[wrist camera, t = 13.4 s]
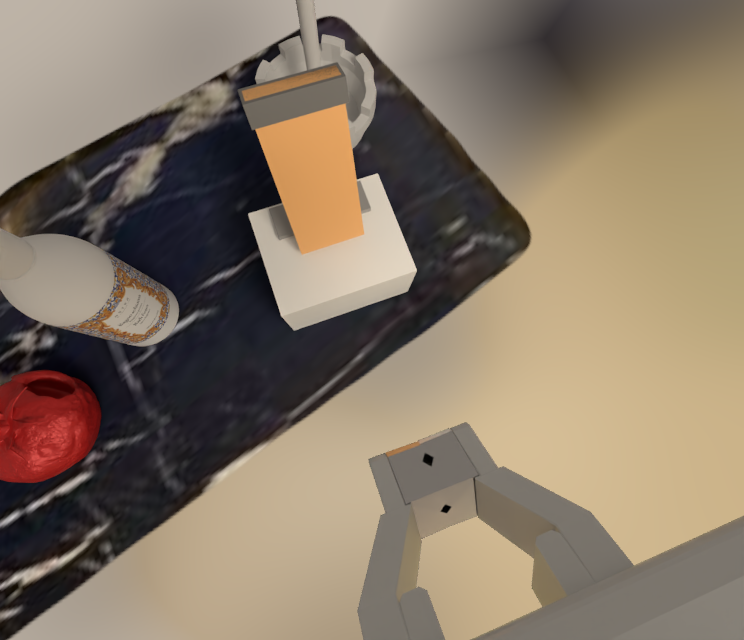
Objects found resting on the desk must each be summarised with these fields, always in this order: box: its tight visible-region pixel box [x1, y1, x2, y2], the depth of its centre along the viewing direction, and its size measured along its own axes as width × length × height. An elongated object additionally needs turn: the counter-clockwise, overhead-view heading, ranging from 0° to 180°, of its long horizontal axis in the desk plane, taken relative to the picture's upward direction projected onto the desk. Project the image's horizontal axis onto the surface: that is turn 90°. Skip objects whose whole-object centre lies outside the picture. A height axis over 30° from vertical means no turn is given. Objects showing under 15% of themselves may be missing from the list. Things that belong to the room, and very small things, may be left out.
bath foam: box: [0, 228, 179, 346], centre depth 31 cm, size 7×7×20 cm
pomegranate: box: [0, 370, 101, 483], centre depth 34 cm, size 10×10×9 cm
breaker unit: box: [248, 174, 417, 331], centre depth 39 cm, size 10×13×8 cm
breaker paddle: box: [238, 62, 364, 255], centre depth 29 cm, size 2×6×14 cm, turn 109°
